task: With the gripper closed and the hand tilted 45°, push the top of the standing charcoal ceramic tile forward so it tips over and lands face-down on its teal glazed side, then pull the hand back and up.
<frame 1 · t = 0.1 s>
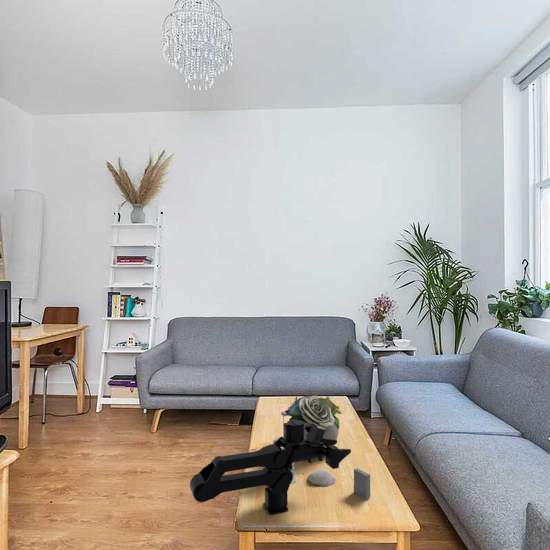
hand: (343, 446, 146), 17 cm above the table, tool horizontal, fingers open, 9 cm apart
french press: (283, 480, 156), on the table
seashell: (321, 481, 156), on the table
glazed tile: (362, 495, 145), on the table
flower arrangement: (314, 451, 183), on the table
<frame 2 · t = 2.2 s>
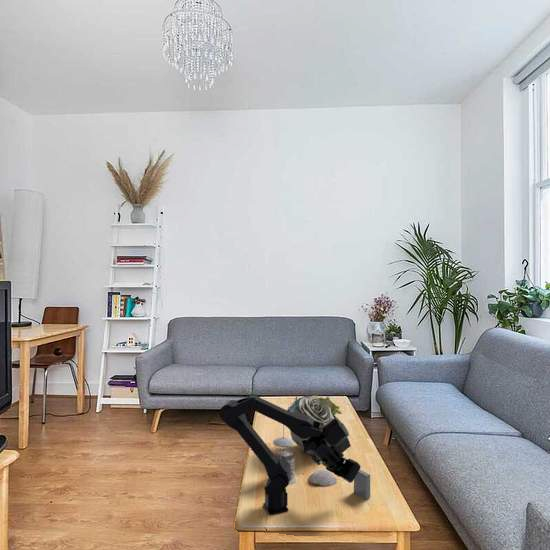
hand: (348, 476, 141), 8 cm above the table, tool tilted 45°, fingers closed
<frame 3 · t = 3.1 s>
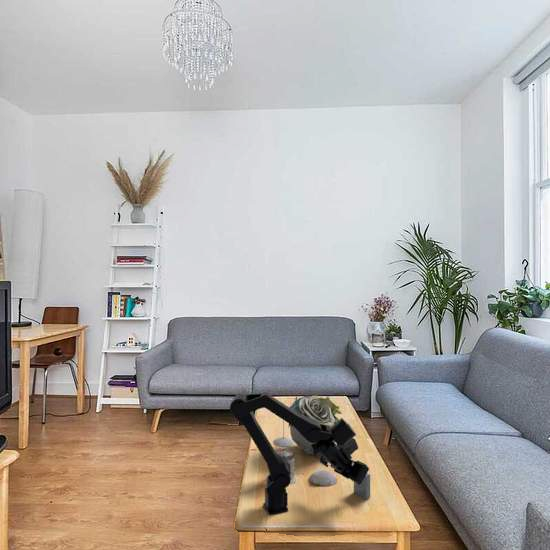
hand: (356, 477, 143), 7 cm above the table, tool tilted 45°, fingers closed
nothing on the table moved.
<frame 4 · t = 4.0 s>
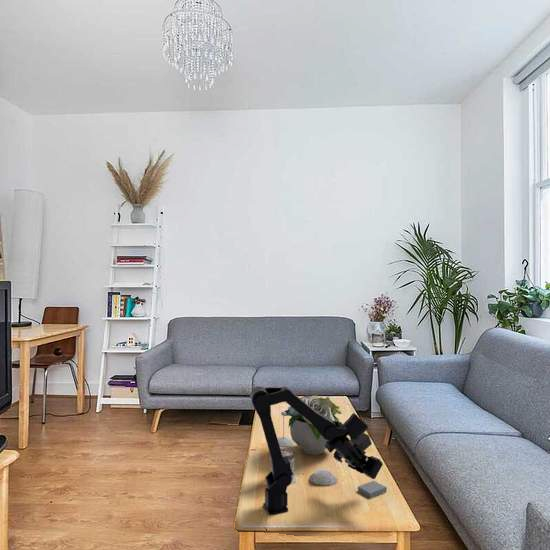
hand: (369, 472, 147), 7 cm above the table, tool tilted 45°, fingers closed
glazed tile: (364, 492, 145), point 1 cm above the table, tilted 90°
everything else where it was.
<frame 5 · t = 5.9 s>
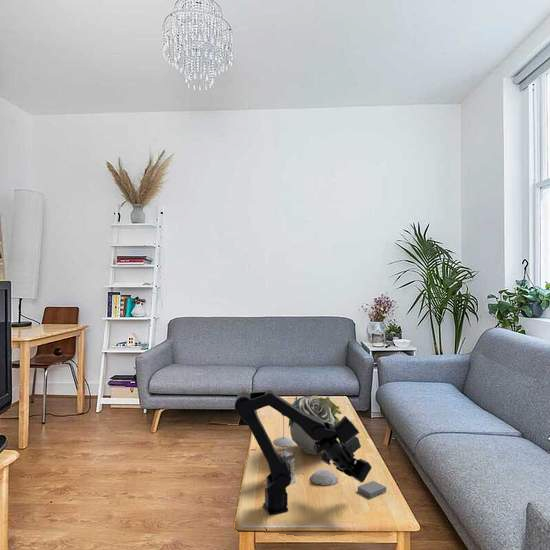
hand: (357, 475, 144), 7 cm above the table, tool tilted 45°, fingers closed
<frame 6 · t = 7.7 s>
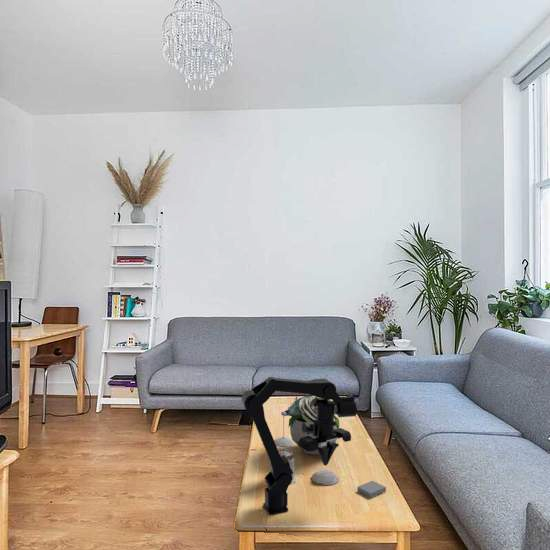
hand: (325, 465, 140), 12 cm above the table, tool pointing down, fingers closed
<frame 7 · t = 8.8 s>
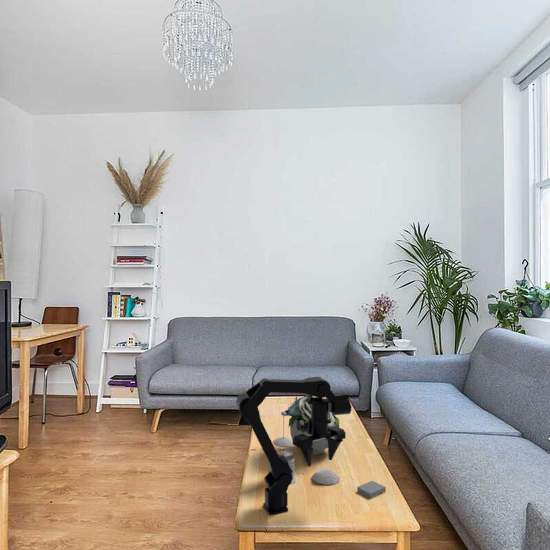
hand: (319, 463, 140), 13 cm above the table, tool pointing down, fingers open, 9 cm apart
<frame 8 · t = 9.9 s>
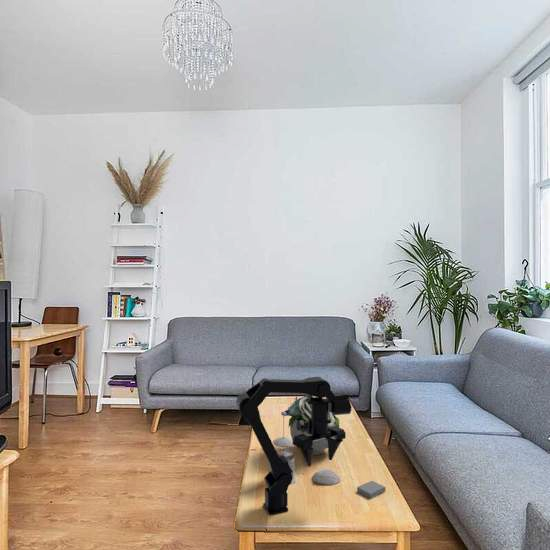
hand: (319, 463, 140), 13 cm above the table, tool pointing down, fingers open, 9 cm apart
at the end: glazed tile tilted 90°; glazed tile inside the target area (3.1 cm from its centre), point 0.6 cm above the table; the gripper is holding nothing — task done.
